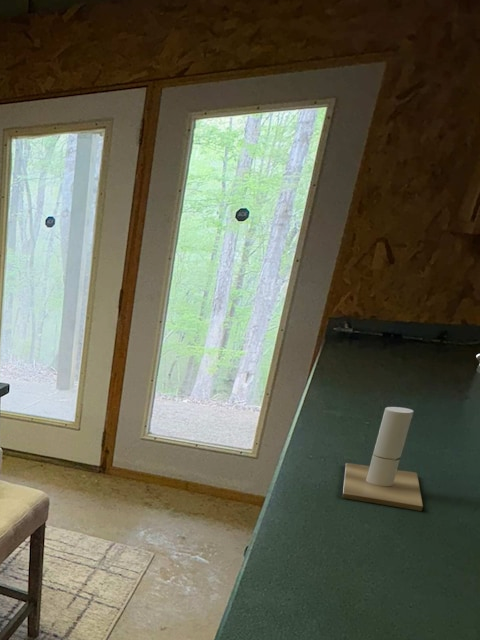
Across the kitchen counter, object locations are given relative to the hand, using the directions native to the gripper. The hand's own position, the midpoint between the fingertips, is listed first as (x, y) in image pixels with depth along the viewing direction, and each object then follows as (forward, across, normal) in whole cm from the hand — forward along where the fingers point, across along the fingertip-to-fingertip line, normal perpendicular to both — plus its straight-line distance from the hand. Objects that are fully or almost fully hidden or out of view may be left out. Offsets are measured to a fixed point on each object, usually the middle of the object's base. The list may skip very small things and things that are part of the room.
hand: (479, 364), depth 118 cm
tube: (+24, +10, +9) cm, 27 cm away
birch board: (+24, +10, +10) cm, 28 cm away
